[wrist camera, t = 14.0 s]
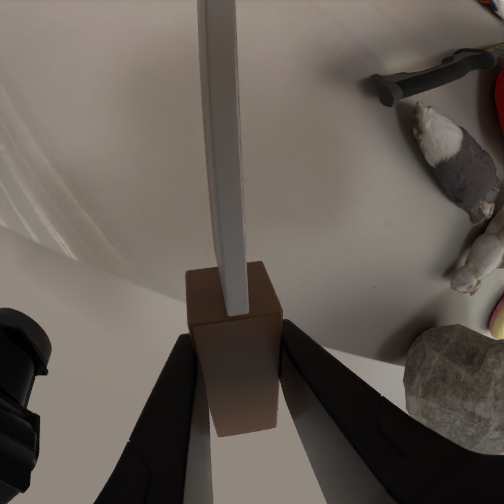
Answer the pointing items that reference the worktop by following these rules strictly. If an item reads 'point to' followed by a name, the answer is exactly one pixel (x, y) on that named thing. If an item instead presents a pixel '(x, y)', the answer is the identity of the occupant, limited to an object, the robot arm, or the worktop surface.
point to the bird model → (456, 161)
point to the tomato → (500, 97)
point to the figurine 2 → (496, 6)
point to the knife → (435, 74)
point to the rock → (458, 386)
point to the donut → (498, 321)
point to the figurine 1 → (482, 257)
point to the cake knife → (231, 255)
